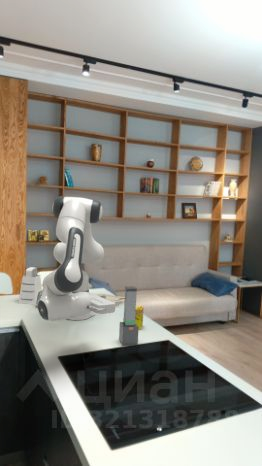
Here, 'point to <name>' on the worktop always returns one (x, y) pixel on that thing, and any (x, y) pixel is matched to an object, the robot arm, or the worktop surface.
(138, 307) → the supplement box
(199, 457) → the worktop surface
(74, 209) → the robot arm
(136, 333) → the base
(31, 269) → the grater
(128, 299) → the jack column
